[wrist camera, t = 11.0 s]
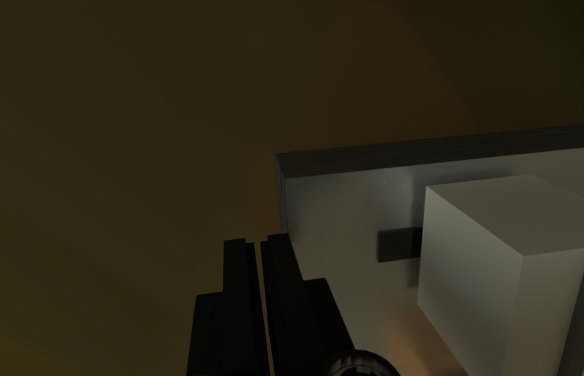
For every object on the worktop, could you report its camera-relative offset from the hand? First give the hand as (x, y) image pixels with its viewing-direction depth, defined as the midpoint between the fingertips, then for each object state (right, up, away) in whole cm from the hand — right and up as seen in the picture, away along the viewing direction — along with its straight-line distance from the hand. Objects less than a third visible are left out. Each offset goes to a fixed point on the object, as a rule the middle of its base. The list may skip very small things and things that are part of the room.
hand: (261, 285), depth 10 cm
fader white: (+6, +1, +1) cm, 7 cm away
